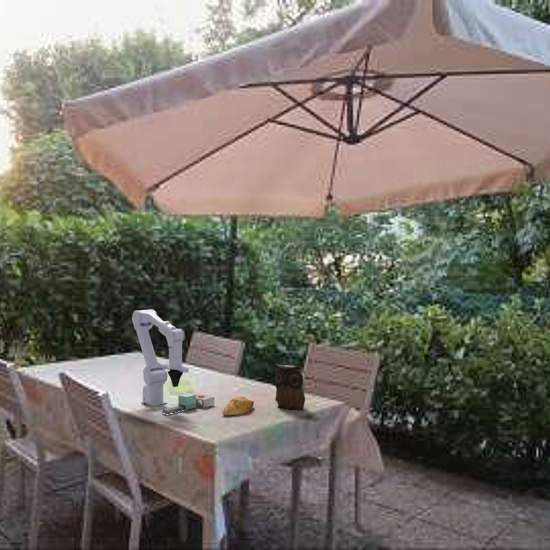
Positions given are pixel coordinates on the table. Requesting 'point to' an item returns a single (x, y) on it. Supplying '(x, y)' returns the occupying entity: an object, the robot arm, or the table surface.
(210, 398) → the block with square hole
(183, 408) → the rail
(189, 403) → the block
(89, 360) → the table surface
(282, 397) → the owl
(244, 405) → the croissant
